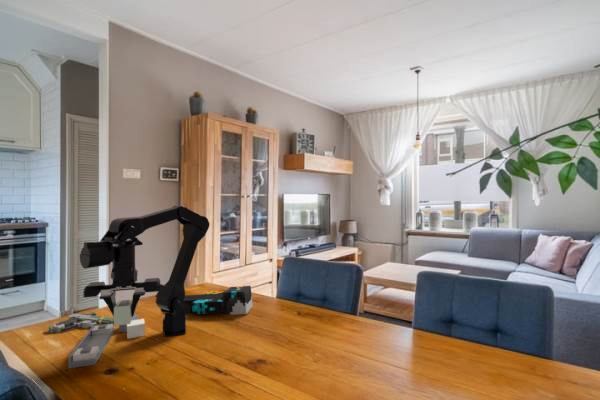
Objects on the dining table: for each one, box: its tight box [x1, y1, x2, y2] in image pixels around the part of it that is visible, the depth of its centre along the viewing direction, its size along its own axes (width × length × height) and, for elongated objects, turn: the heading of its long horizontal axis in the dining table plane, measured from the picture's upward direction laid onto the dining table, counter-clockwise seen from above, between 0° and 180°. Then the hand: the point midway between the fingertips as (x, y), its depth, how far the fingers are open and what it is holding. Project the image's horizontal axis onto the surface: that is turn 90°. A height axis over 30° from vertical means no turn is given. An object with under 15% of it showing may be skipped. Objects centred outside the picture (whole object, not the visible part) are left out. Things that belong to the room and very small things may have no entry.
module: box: [113, 299, 134, 327], centre depth 93 cm, size 4×6×5 cm, turn 18°
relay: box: [126, 318, 146, 340], centre depth 105 cm, size 5×5×4 cm
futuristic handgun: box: [48, 312, 115, 335], centre depth 112 cm, size 3×19×15 cm
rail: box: [67, 324, 115, 369], centre depth 96 cm, size 6×22×3 cm, turn 18°
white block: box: [118, 313, 139, 333], centre depth 110 cm, size 4×5×4 cm
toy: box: [184, 285, 253, 316], centre depth 128 cm, size 15×8×30 cm
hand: (124, 317), depth 93 cm, fingers closed on module, 4 cm apart
